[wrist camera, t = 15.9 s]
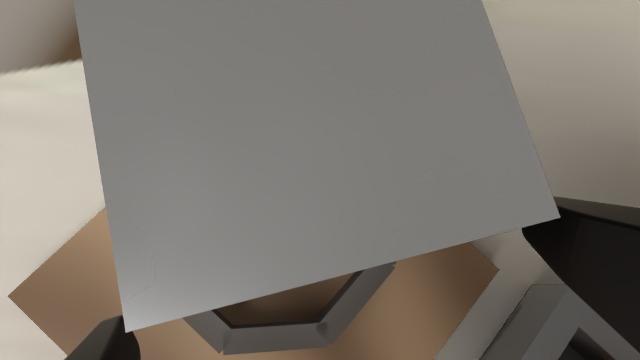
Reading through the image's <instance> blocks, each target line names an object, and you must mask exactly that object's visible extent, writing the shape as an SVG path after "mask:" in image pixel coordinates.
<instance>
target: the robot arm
mask: <svg viewBox="0 0 640 360" xmlns="http://www.w3.org/2000/svg"><path fill="white" fill-rule="evenodd" d="M553 198H554V201H555V204H556V206H557V209H558V212H559V215H560V217H561V218H557V219H553V220H549V221H546V222H542V223H538V224H534V225H530V226H527V227H523V228H522V233H523V235H524V237H525V239H526V240H527V241H528V242H529V243H530V245H531V246H532V247H533V248H534V249H535V250H536V251H537V253H538V254H539V255H540V256H541V257H542V258H543V259H544V261H545V262H546V263H547V264H548V265H549V266H550V267H551V269H552V270H553V271H554V272H555V273H556V274H557V275H558V277H559V278H560V279H561V280H562V281H563V282H564V283H565V284H566V285H567V286H568V287H569V288H570V289H571V290H572V291H573V292H574V293H575V294H576V295H578V296H579V297H580V298H581V299H582V300H583V301H584V302H585V303H586V304H587V305H588V306H589V307H590V308H591V309H592V310H594V311H595V312H596V313H597V314H598V315H599V316H600V317H601V318H602V319H603V320H604V321H605V322H606V323H607V324H609V325H610V326H611V327H612V328H613V329H614V330H615V331H616V332H617V333H618V334H619V335H620V336H621V337H622V338H623V339H625V340H626V341H627V342H628V343H629V344H630V345H631V346H632V347H633V348H634V349H635V350H636V351H637V352H638V353H640V208H634V207H627V206H619V205H612V204H605V203H598V202H590V201H583V200H576V199H569V198H562V197H554V196H553ZM64 360H141V353H140V347H139V343H138V341H137V339H136V337H135V335H134V333H133V331H130V332H126V331H125V324H124V318H123V315H119V316H115V317H112V318H108V319H105V320H102V321H101V322H100V323H99V324H98V325H97V326H96V327H95V328H94V329H93V330H92V331H91V332H90V333H89V334H88V335H87V336H86V337H85V338H84V340H83V341H82V342H81V343H80V344H79V345H78V346H77V347H76V348H75V349H74V350H73V351H72V352H71V353H70V354H69V355H68V356H67V357H66V358H65V359H64Z"/></svg>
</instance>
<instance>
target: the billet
mask: <svg viewBox="0 0 640 360" xmlns="http://www.w3.org/2000/svg"><path fill="white" fill-rule="evenodd" d="M73 2H74V9H75V15H76V21H77V28H78V34H79V40H80V46H81V52H82V59H83V66H84V72H85V78H86V85H87V91H88V97H89V103H90V110H91V116H92V122H93V129H94V135H95V141H96V148H97V154H98V160H99V167H100V173H101V179H102V186H103V192H104V198H105V204H106V211H107V217H108V223H109V230H110V236H111V242H112V249H113V255H114V261H115V268H116V274H117V280H118V286H119V293H120V299H121V305H122V312H123V318H124V324H125V331H126V332H130V331H133V330H137V329H141V328H145V327H149V326H152V325H156V324H160V323H164V322H167V321H171V320H175V319H179V318H183V317H186V316H190V315H194V314H198V313H201V312H205V311H209V310H213V309H217V308H220V307H224V306H228V305H232V304H236V303H239V302H243V301H247V300H251V299H254V298H258V297H262V296H266V295H270V294H273V293H277V292H281V291H285V290H288V289H292V288H296V287H300V286H304V285H307V284H311V283H315V282H319V281H322V280H326V279H330V278H334V277H338V276H341V275H345V274H349V273H353V272H357V271H360V270H364V269H368V268H372V267H375V266H379V265H383V264H387V263H391V262H394V261H398V260H402V259H406V258H409V257H413V256H417V255H421V254H425V253H428V252H432V251H436V250H440V249H443V248H447V247H451V246H455V245H459V244H462V243H466V242H470V241H474V240H477V239H481V238H485V237H489V236H493V235H496V234H500V233H504V232H508V231H512V230H515V229H519V228H523V227H527V226H530V225H534V224H538V223H542V222H546V221H549V220H553V219H557V218H561V217H560V215H559V212H558V209H557V206H556V204H555V201H554V198H553V195H552V193H551V190H550V187H549V184H548V182H547V179H546V176H545V173H544V171H543V168H542V165H541V163H540V160H539V157H538V154H537V152H536V149H535V146H534V143H533V141H532V138H531V135H530V132H529V130H528V127H527V124H526V121H525V119H524V116H523V113H522V111H521V108H520V105H519V102H518V100H517V97H516V94H515V91H514V89H513V86H512V83H511V80H510V78H509V75H508V72H507V69H506V67H505V64H504V61H503V59H502V56H501V53H500V50H499V48H498V45H497V42H496V39H495V37H494V34H493V31H492V28H491V26H490V23H489V20H488V18H487V15H486V12H485V9H484V7H483V4H482V1H481V0H73Z"/></svg>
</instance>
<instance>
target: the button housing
mask: <svg viewBox="0 0 640 360" xmlns="http://www.w3.org/2000/svg"><path fill="white" fill-rule="evenodd" d="M480 360H640V353H638V352H637V351H636V350H635V349H634V348H633V347H632V346H631V345H630V344H629V343H628V342H627V341H626V340H625V339H623V338H622V337H621V336H620V335H619V334H618V333H617V332H616V331H615V330H614V329H613V328H612V327H611V326H610V325H609V324H607V323H606V322H605V321H604V320H603V319H602V318H601V317H600V316H599V315H598V314H597V313H596V312H595V311H594V310H592V309H591V308H590V307H589V306H588V305H587V304H586V303H585V302H584V301H583V300H582V299H581V298H580V297H579V296H578V295H576V294H575V293H574V292H573V291H572V290H571V289H570V288H569V287H568V286H567V285H566V284H545V285H532V286H531V287H530V289H529V290H528V292H527V293H526V294H525V296H524V297H523V299H522V300H521V302H520V303H519V304H518V306H517V307H516V309H515V310H514V312H513V313H512V314H511V316H510V317H509V319H508V320H507V322H506V323H505V324H504V326H503V327H502V329H501V330H500V332H499V333H498V334H497V336H496V337H495V339H494V340H493V342H492V343H491V344H490V346H489V347H488V349H487V350H486V352H485V353H484V354H483V356H482V357H481V359H480Z"/></svg>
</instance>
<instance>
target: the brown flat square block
mask: <svg viewBox="0 0 640 360" xmlns="http://www.w3.org/2000/svg"><path fill="white" fill-rule="evenodd" d="M498 271H499V269H498V268H497V267H496V266H495V265H494V264H493V263H491V262H490V261H489V260H488V259H487V258H486V257H485V256H484V255H483V254H481V253H480V252H479V251H478V250H477V249H476V248H475V247H474V246H473V245H471V244H470V243H469V242H466V243H462V244H459V245H455V246H451V247H447V248H443V249H440V250H436V251H432V252H428V253H425V254H421V255H417V256H413V257H409V258H406V259H402V260H398V261H394V262H391V263H387V264H383V265H379V266H375V267H372V268H368V269H364V270H360V271H357V272H353V273H349V274H345V275H341V276H338V277H334V278H330V279H326V280H322V281H319V282H315V283H311V284H307V285H304V286H300V287H296V288H292V289H288V290H285V291H281V292H277V293H273V294H270V295H266V296H262V297H258V298H254V299H251V300H247V301H243V302H239V303H236V304H232V305H228V306H224V307H220V308H217V309H213V310H209V311H205V312H201V313H198V314H194V315H190V316H186V317H183V318H179V319H175V320H171V321H167V322H164V323H160V324H156V325H152V326H149V327H145V328H141V329H137V330H133V333H134V335H135V337H136V339H137V341H138V343H139V347H140V353H141V360H433V359H434V358H435V357H436V355H437V354H438V352H439V351H440V350H441V348H442V347H443V346H444V344H445V343H446V342H447V340H448V339H449V337H450V336H451V335H452V333H453V332H454V331H455V329H456V328H457V327H458V325H459V324H460V322H461V321H462V320H463V318H464V317H465V316H466V314H467V313H468V312H469V310H470V309H471V307H472V306H473V305H474V303H475V302H476V301H477V299H478V298H479V297H480V295H481V294H482V292H483V291H484V290H485V288H486V287H487V286H488V284H489V283H490V282H491V280H492V279H493V277H494V276H495V275H496V273H497V272H498ZM8 297H9V298H10V299H11V300H12V301H13V302H14V303H15V304H16V305H17V306H18V307H19V308H20V309H21V310H22V311H23V312H24V313H25V314H26V315H27V316H28V317H29V318H30V319H31V320H32V321H33V322H34V323H35V324H36V325H37V326H38V327H39V328H40V329H41V330H42V331H43V332H44V333H45V334H46V335H47V336H48V337H49V338H50V339H51V340H53V341H54V342H55V343H56V344H57V345H58V346H59V347H60V348H61V349H62V350H63V351H64V352H65V353H66V354H67V355H69V354H70V353H71V352H72V351H73V350H74V349H75V348H76V347H77V346H78V345H79V344H80V343H81V342H82V341H83V340H84V338H85V337H86V336H87V335H88V334H89V333H90V332H91V331H92V330H93V329H94V328H95V327H96V326H97V325H98V324H99V323H100V322H101V321H102V320H105V319H108V318H112V317H115V316H119V315H123V312H122V305H121V299H120V293H119V286H118V280H117V274H116V268H115V261H114V255H113V249H112V242H111V236H110V230H109V223H108V217H107V211H106V207H105V208H104V209H103V210H102V211H101V212H99V213H98V214H97V215H96V216H95V217H94V218H93V219H92V220H91V221H90V222H88V223H87V224H86V225H85V226H84V227H83V228H82V229H81V230H80V231H79V232H77V233H76V234H75V235H74V236H73V237H72V238H71V239H70V240H69V241H68V242H66V243H65V244H64V245H63V246H62V247H61V248H60V249H59V250H58V251H57V252H56V253H54V254H53V255H52V256H51V257H50V258H49V259H48V260H47V261H46V262H45V263H43V264H42V265H41V266H40V267H39V268H38V269H37V270H36V271H35V272H34V273H32V274H31V275H30V276H29V277H28V278H27V279H26V280H25V281H24V282H23V283H21V284H20V285H19V286H18V287H17V288H16V289H15V290H14V291H13V292H12V293H10V294H9V295H8Z"/></svg>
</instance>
